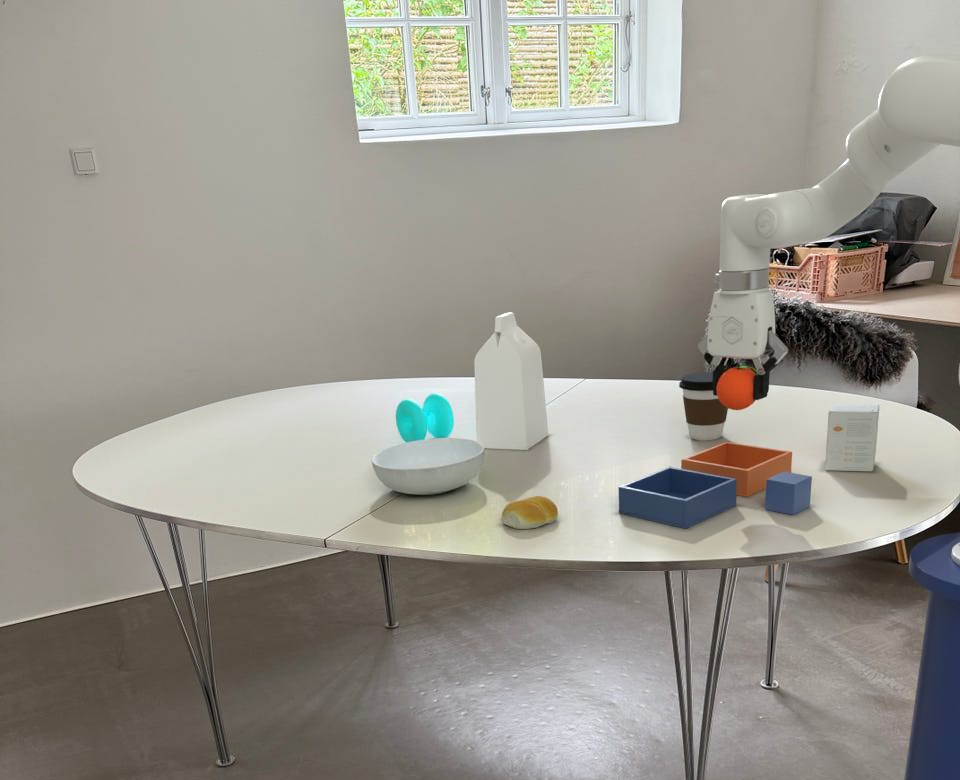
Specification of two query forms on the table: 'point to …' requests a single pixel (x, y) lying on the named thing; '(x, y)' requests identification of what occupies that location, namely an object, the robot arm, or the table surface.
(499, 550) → the table surface
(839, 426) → the small box
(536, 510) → the bread roll
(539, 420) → the milk
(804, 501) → the blue block
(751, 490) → the terracotta bin
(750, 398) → the clementine
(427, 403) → the cyan plastic rounded piece
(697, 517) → the blue bin
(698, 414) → the coffee cup
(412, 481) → the serving bowl
